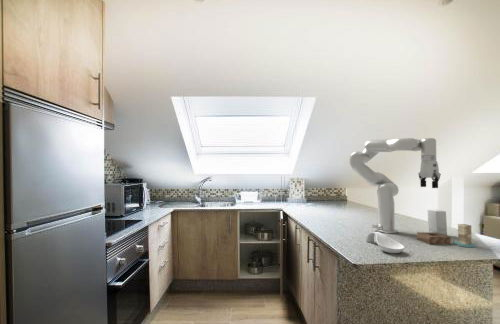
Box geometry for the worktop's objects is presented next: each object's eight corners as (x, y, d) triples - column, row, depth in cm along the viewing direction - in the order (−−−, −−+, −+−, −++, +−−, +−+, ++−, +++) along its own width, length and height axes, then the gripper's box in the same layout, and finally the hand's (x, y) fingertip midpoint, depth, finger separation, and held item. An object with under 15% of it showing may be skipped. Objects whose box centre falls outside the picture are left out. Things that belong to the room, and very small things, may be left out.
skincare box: (447, 237, 159) (447, 211, 159) (436, 237, 159) (436, 211, 159) (437, 233, 167) (437, 209, 167) (427, 233, 167) (427, 209, 167)
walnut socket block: (429, 244, 143) (429, 236, 143) (417, 239, 153) (417, 232, 153) (450, 244, 144) (450, 236, 144) (437, 239, 154) (436, 232, 154)
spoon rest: (410, 255, 126) (410, 240, 126) (388, 256, 124) (387, 241, 124) (378, 241, 149) (378, 229, 149) (359, 242, 147) (359, 229, 147)
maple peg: (464, 244, 140) (464, 225, 140) (458, 242, 144) (457, 224, 144) (471, 244, 140) (471, 225, 140) (465, 242, 144) (465, 224, 144)
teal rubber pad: (463, 247, 137) (463, 245, 137) (449, 242, 146) (449, 241, 146) (479, 247, 137) (479, 245, 138) (465, 242, 146) (465, 240, 146)
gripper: (446, 158, 148) (446, 188, 148) (424, 159, 165) (424, 186, 165) (433, 158, 148) (433, 188, 147) (413, 159, 165) (413, 186, 165)
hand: (429, 187), depth 156 cm, fingers open, 9 cm apart
